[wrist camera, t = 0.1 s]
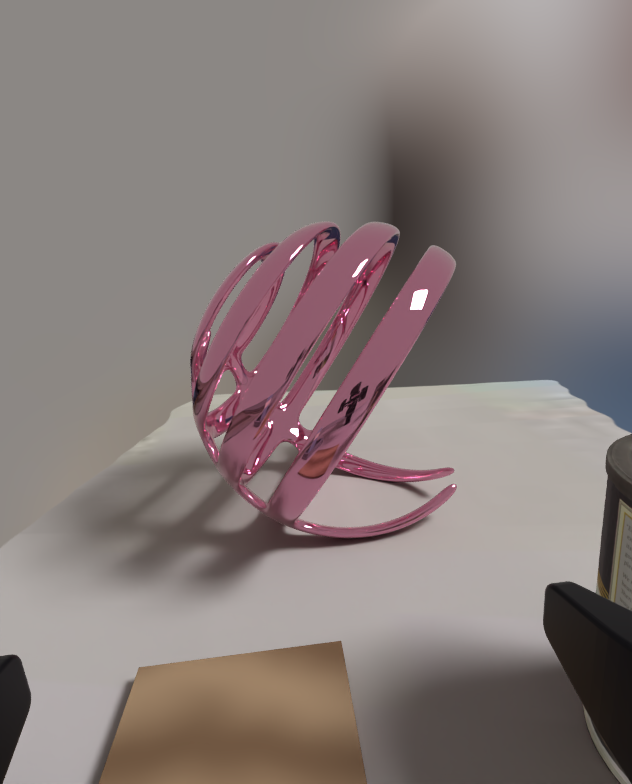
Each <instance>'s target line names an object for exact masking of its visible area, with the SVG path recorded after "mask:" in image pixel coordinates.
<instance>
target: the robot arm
mask: <svg viewBox="0 0 632 784" xmlns="http://www.w3.org/2000/svg"><path fill="white" fill-rule="evenodd" d="M543 625H544V630H545V633H546V636H547V638H548V640H549V642H550V644H551V646H552V648H553V649H554V651H555V653H556V655H557V657H558V659H559V661H560V663H561V664H562V666H563V668H564V670H565V672H566V674H567V676H568V678H569V679H570V681H571V683H572V685H573V687H574V689H575V691H576V693H577V694H578V696H579V698H580V700H581V702H582V704H583V706H584V707H585V709H586V711H587V713H588V715H589V717H590V718H591V720H592V722H593V724H594V726H595V727H596V729H597V731H598V732H599V734H600V736H601V737H602V739H603V740H604V742H605V744H606V745H607V747H608V748H609V750H610V752H611V753H612V755H613V756H614V758H615V759H616V761H617V762H618V764H619V765H620V767H621V769H622V770H623V772H624V773H625V775H626V776H627V778H628V779H629V781H630V782H631V784H632V611H631V610H629V609H627V608H625V607H623V606H621V605H619V604H617V603H614V602H612V601H610V600H608V599H606V598H604V597H602V596H600V595H598V594H596V593H594V592H592V591H590V590H588V589H586V588H584V587H582V586H580V585H578V584H576V583H573V582H567V581H566V582H559V583H551V584H549V585H548V586H547V587H546V590H545V601H544V616H543ZM30 704H31V692H30V689H29V685H28V682H27V678H26V675H25V672H24V668H23V665H22V662H21V659H20V658H19V657H18V656H17V655H5V656H0V784H3V781H4V778H5V775H6V773H7V770H8V767H9V764H10V762H11V759H12V756H13V754H14V751H15V748H16V745H17V743H18V740H19V737H20V734H21V732H22V729H23V726H24V723H25V721H26V718H27V715H28V712H29V709H30Z"/></svg>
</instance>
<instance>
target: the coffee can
mask: <svg viewBox="0 0 632 784" xmlns="http://www.w3.org/2000/svg"><path fill="white" fill-rule="evenodd" d="M606 472H607V474H608V480H607V490H606V499H605V509H604V517H603V527H602V536H601V548H600V557H599V568H598V578H597V587H596V594H598V595H600V596H602V597H604V598H606V599H608V600H610V601H612V602H614V603H617V604H619V605H621V606H623V607H625V608H627V609H629V610H631V611H632V434H631V435H628V436H625V437H623V438H620V439H618V440H616V441H615V442H614V443H613V444H612V445H611V446H610V447H609V449H608V451H607V455H606ZM583 708H584V714H585V719H586V723H587V726H588V730H589V732H590V735H591V738H592V740H593V742H594V744H595V746H596V748H597V750H598V752H599V754H600V755H601V757H602V758H603V760H604V761H605V763H606V764H607V766H608V767H609V769H610V770H611V772H612V773H613V774H614V776H615V777H616V778H617V780H618V781H619V782H620V783H621V784H631V782H630V781H629V779H628V778H627V776H626V775H625V773H624V772H623V770H622V769H621V767H620V765H619V764H618V762H617V761H616V759H615V758H614V756H613V755H612V753H611V752H610V750H609V748H608V747H607V745H606V744H605V742H604V740H603V739H602V737H601V736H600V734H599V732H598V731H597V729H596V727H595V726H594V724H593V722H592V720H591V718H590V717H589V715H588V713H587V711H586V709H585V707H584V706H583Z"/></svg>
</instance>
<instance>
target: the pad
mask: <svg viewBox="0 0 632 784" xmlns="http://www.w3.org/2000/svg"><path fill="white" fill-rule="evenodd" d="M99 784H367V781H366V775H365V770H364V764H363V759H362V753H361V748H360V742H359V737H358V731H357V726H356V720H355V715H354V709H353V704H352V698H351V693H350V687H349V682H348V676H347V670H346V665H345V659H344V654H343V648H342V643H341V641H337V642H329V643H321V644H314V645H306V646H299V647H291V648H283V649H276V650H268V651H261V652H253V653H246V654H238V655H230V656H223V657H215V658H208V659H200V660H193V661H185V662H177V663H170V664H162V665H155V666H147V667H140V668H139V669H138V672H137V675H136V677H135V680H134V683H133V686H132V689H131V692H130V695H129V697H128V700H127V703H126V706H125V709H124V712H123V715H122V718H121V720H120V723H119V726H118V729H117V732H116V735H115V738H114V741H113V743H112V746H111V749H110V752H109V755H108V758H107V761H106V764H105V766H104V769H103V772H102V775H101V778H100V781H99Z"/></svg>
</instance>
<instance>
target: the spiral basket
mask: <svg viewBox="0 0 632 784" xmlns="http://www.w3.org/2000/svg"><path fill="white" fill-rule="evenodd" d="M313 239H314V250H313V256H312V260H311V264H310V267H309V270H308V273H307V276H306V279H305V281H304V284H303V286H302V289H301V291H300V293H299V295H298V298H297V300H296V302H295V304H294V306H293V308H292V310H291V312H290V314H289V316H288V318H287V319H286V321H285V323H284V325H283V326H282V328H281V330H280V331H279V333H278V335H277V336H276V338H275V340H274V341H273V343H272V345H271V346H270V348H269V349H268V351H267V352H266V354H265V355H264V356H263V358H262V359H261V361H260V362H259V364H258V365H257V366H256V368H255V369H254V370H253V371H251V372H249V371H247V370H246V369H245V368H244V366H243V364H242V360H241V356H242V353H243V351H244V350H245V349H246V347H247V346H248V344H249V343H250V342H251V341H252V339H253V337H254V336H255V334H256V333H257V331H258V330H259V328H260V327H261V325H262V323H263V321H264V320H265V318H266V316H267V314H268V313H269V311H270V309H271V307H272V305H273V303H274V300H275V298H276V296H277V294H278V291H279V289H280V286H281V283H282V280H283V277H284V273H285V270H286V269H287V267H288V266H289V265H290V264H291V263H292V261H293V260H294V259H295V258H296V257H297V256H298V254H300V252H301V251H302V250H303V249H304V248H305V247H306V246H307V245H308V244H309V243H310V242H311V241H312V240H313ZM398 239H399V230H398V229H397V228H396V227H394V226H392V225H390V224H387V223H382V222H369V223H367V224H364V225H363V226H361V227H360V228H359V229H357V230H356V231H355V232H354V233H353V234H352V235H351V236H350V237H349V238H348V239H347V240H346V241H345V242H344V243H343V244H342V245H341V247H340V248H339V245H340V229H339V227H338V225H337V224H335V223H333V222H328V221H323V222H316V223H312V224H309V225H306V226H303V227H301V228H299V229H298V230H296V231H295V232H293V233H292V234H291V235H289V236H288V237H287V238H285V239H284V240H283V241H282V242H281V243H278V242H271V243H267V244H265V245H262V246H260V247H259V248H257V249H255V250H254V251H252V252H251V253H250V254H248V255H247V256H246V257H245V258H244V259H243V260H241V261H240V262H239V263H238V264H237V266H235V267H234V269H233V270H232V271H231V272H230V273H229V274H228V276H227V277H226V278H225V279H224V281H223V282H222V284H221V285H220V287H219V288H218V289H217V291H216V292H215V294H214V296H213V297H212V299H211V301H210V302H209V304H208V306H207V308H206V310H205V312H204V314H203V316H202V318H201V321H200V323H199V325H198V328H197V331H196V334H195V337H194V341H193V345H192V350H191V359H190V366H191V386H192V402H193V416H194V420H195V424H196V427H197V430H198V432H199V435H200V437H201V439H202V442H203V444H204V446H205V448H206V450H207V452H208V454H209V456H210V458H211V459H212V461H213V463H214V465H215V466H216V468H217V469H218V471H219V472H220V474H221V475H222V477H223V478H224V479H225V480H226V482H227V483H228V484H229V485H230V486H231V487H232V488H233V489H234V490H235V491H236V492H237V493H238V494H239V495H240V496H241V497H242V498H243V499H244V500H246V501H247V502H248V503H249V504H251V505H252V506H253V507H254V508H256V509H257V510H259V511H260V512H261V513H263V514H264V515H266V516H268V517H269V518H271V519H273V520H275V521H277V522H279V523H281V524H283V525H285V526H288V527H290V528H293V529H296V530H299V531H302V532H305V533H309V534H313V535H318V536H324V537H331V538H365V537H372V536H378V535H382V534H386V533H390V532H393V531H396V530H399V529H402V528H404V527H407V526H409V525H411V524H413V523H415V522H417V521H419V520H421V519H423V518H424V517H426V516H428V515H429V514H431V513H432V512H434V511H435V510H436V509H438V508H439V507H440V506H441V505H443V504H444V503H445V502H446V501H447V500H448V499H449V498H450V497H451V496H452V495H453V494H454V492H455V491H456V488H457V486H456V484H451V485H449V486H448V487H446V488H445V489H444V490H442V491H441V492H440V493H439V494H438V495H436V496H435V497H434V498H433V499H431V500H430V501H429V502H427V503H426V504H424V505H423V506H421V507H419V508H418V509H416V510H414V511H412V512H410V513H408V514H406V515H404V516H402V517H399V518H397V519H394V520H391V521H387V522H384V523H380V524H375V525H370V526H362V527H334V526H326V525H320V524H315V523H311V522H308V521H304V520H302V519H299V516H300V515H301V514H302V513H303V512H304V510H305V509H306V508H307V506H308V505H309V504H310V502H311V501H312V500H313V498H314V497H315V496H316V494H317V493H318V491H319V490H320V489H321V487H322V486H323V484H324V483H325V481H326V480H327V479H328V477H329V476H330V474H331V473H332V471H333V470H334V468H337V469H340V470H343V471H345V472H348V473H351V474H355V475H358V476H362V477H366V478H370V479H376V480H382V481H391V482H419V481H427V480H433V479H438V478H442V477H445V476H448V475H450V474H452V473H453V472H454V469H453V468H440V469H432V470H409V469H401V468H394V467H389V466H385V465H381V464H377V463H374V462H371V461H367V460H365V459H362V458H359V457H356V456H354V455H351V454H349V453H347V452H346V451H347V449H348V448H349V446H350V445H351V443H352V442H353V440H354V439H355V437H356V436H357V434H358V433H359V431H360V429H361V428H362V426H363V425H364V423H365V422H366V420H367V419H368V417H369V416H370V414H371V412H372V411H373V409H374V408H375V406H376V405H377V403H378V401H379V400H380V398H381V397H382V395H383V394H384V392H385V390H386V389H387V387H388V386H389V384H390V382H391V381H392V379H393V378H394V376H395V374H396V373H397V371H398V370H399V368H400V366H401V365H402V363H403V361H404V360H405V358H406V356H407V355H408V353H409V351H410V350H411V348H412V347H413V345H414V343H415V342H416V340H417V338H418V337H419V335H420V333H421V331H422V330H423V328H424V326H425V325H426V323H427V321H428V319H429V318H430V316H431V314H432V312H433V311H434V309H435V307H436V305H437V303H438V302H439V300H440V298H441V296H442V295H443V293H444V291H445V289H446V287H447V285H448V283H449V281H450V279H451V277H452V275H453V272H454V270H455V267H456V262H455V260H454V258H453V257H452V256H451V255H450V254H449V253H448V252H446V251H445V250H443V249H441V248H440V247H438V246H434V245H432V246H430V247H429V248H428V250H427V251H426V253H425V254H424V256H423V257H422V259H421V260H420V262H419V263H418V265H417V266H416V268H415V269H414V271H413V273H412V274H411V276H410V277H409V279H408V280H407V282H406V283H405V285H404V287H403V288H402V289H401V291H400V293H399V294H398V296H397V297H396V299H395V301H394V302H393V303H392V305H391V307H390V308H389V310H388V311H387V313H386V315H385V316H384V318H383V319H382V321H381V322H380V324H379V326H378V327H377V329H376V330H375V332H374V333H373V335H372V336H371V338H370V340H369V341H368V343H367V344H366V346H365V348H364V349H363V351H362V352H361V354H360V355H359V357H358V359H357V360H356V362H355V363H354V365H353V367H352V368H351V370H350V372H349V373H348V375H347V376H346V378H345V379H344V381H343V383H342V384H341V386H340V387H339V389H338V390H337V392H336V394H335V395H334V397H333V398H332V400H331V402H330V403H329V405H328V406H327V408H326V410H325V411H324V413H323V414H322V416H321V418H320V419H319V421H318V423H317V424H316V426H315V427H314V429H313V430H307V429H305V428H304V427H303V426H302V425H301V424H300V422H299V416H300V413H301V411H302V410H303V408H304V406H305V405H306V403H307V402H308V400H309V399H310V397H311V396H312V394H313V393H314V391H315V390H316V388H317V386H318V385H319V383H320V381H321V380H322V379H323V377H324V376H325V374H326V372H327V371H328V369H329V368H330V366H331V364H332V363H333V361H334V359H335V358H336V356H337V355H338V353H339V351H340V349H341V348H342V346H343V345H344V343H345V341H346V339H347V338H348V336H349V334H350V333H351V331H352V330H353V328H354V326H355V324H356V323H357V321H358V319H359V317H360V316H361V314H362V312H363V310H364V309H365V307H366V305H367V303H368V301H369V300H370V298H371V296H372V294H373V292H374V291H375V289H376V287H377V285H378V283H379V281H380V279H381V277H382V275H383V274H384V271H385V269H386V267H387V266H388V263H389V261H390V259H391V257H392V255H393V253H394V250H395V248H396V245H397V243H398ZM258 261H261V262H262V264H261V265H260V266H259V268H258V269H257V270H256V271H255V273H254V274H253V275H252V277H251V278H250V280H249V281H248V282H247V284H246V285H245V287H244V288H243V289H242V291H241V292H240V294H239V295H238V297H237V299H236V300H235V302H234V303H233V305H232V307H231V308H230V310H229V312H228V313H227V315H226V317H225V318H224V320H223V322H222V324H221V326H220V327H219V330H218V332H217V333H216V335H215V337H214V339H213V341H212V343H211V345H210V348H209V350H208V345H209V341H210V336H211V331H210V329H211V326H212V324H213V322H214V320H215V318H216V316H217V314H218V313H219V311H220V309H221V307H222V305H223V304H224V302H225V301H226V299H227V297H228V296H229V294H230V293H231V291H232V290H233V289H234V287H235V285H237V283H238V282H239V281H240V279H241V278H242V277H243V276H244V274H245V273H246V272H247V271H248V270H249V269H250V268H251V267H252V266H253V265H254V264H255V263H257V262H258ZM345 297H346V298H345ZM344 299H345V300H344ZM343 300H344V302H343ZM342 302H343V304H342V306H341V308H340V310H339V311H338V313H337V315H336V317H335V319H334V320H333V322H332V324H331V326H330V328H329V330H328V331H327V333H326V335H325V336H324V338H323V340H322V341H321V343H320V345H319V346H318V348H317V350H316V351H315V353H314V355H313V356H312V358H311V360H310V361H309V363H308V364H307V366H306V367H305V369H304V371H303V372H302V374H301V375H300V377H299V379H298V380H297V382H296V383H295V384H294V386H293V387H292V389H291V390H290V392H289V393H288V395H287V396H286V398H285V399H284V400H283V401H282V402H280V401H281V399H282V397H283V396H284V394H285V392H286V390H287V389H288V387H289V385H290V384H291V382H292V380H293V379H294V377H295V375H296V374H297V372H298V370H299V369H300V367H301V366H302V364H303V362H304V361H305V359H306V357H307V356H308V354H309V353H310V351H311V349H312V348H313V346H314V344H315V343H316V341H317V340H318V338H319V336H320V335H321V334H322V332H323V330H324V329H325V327H326V326H327V324H328V323H329V321H330V320H331V318H332V317H333V315H334V313H335V312H336V311H337V309H338V307H339V306H340V305H341V303H342ZM207 350H208V352H207ZM227 370H230V371H231V372H232V374H233V376H234V378H235V381H236V390H235V392H234V393H233V395H232V396H231V397H230V398H229V399H227V400H226V401H225V402H224V403H223V404H222V405H220V406H219V407H218V408H216V409H214V410H213V411H211V412H208V411H209V407H210V404H211V401H212V398H213V395H214V392H215V390H216V387H217V385H218V382H219V380H220V378H221V376H222V374H223V373H224V372H225V371H227ZM226 431H227V432H226ZM224 432H226V434H225V437H224V439H223V442H222V445H221V449H220V451H219V449H218V447H217V445H216V443H215V440H214V438H216V437H218V436H220V435H222V434H223V433H224ZM282 442H289V443H291V444H293V445H294V446H295V447H296V448H297V449H298V451H299V453H298V455H297V456H296V458H295V460H294V461H293V463H292V465H291V466H290V468H289V469H288V471H287V473H286V474H285V476H284V478H283V479H282V481H281V483H280V484H279V486H278V488H277V489H276V491H275V493H274V494H273V496H272V498H271V499H270V501H269V503H267V502H266V501H264V500H262V499H261V498H260V497H258V496H257V495H256V494H255V493H253V492H252V491H251V490H250V489H249V488H248V487H247V486H246V484H247V483H248V482H249V481H250V480H251V479H252V478H253V477H254V476H255V475H256V473H257V472H258V471H259V470H260V468H261V467H262V466H263V465H264V463H265V462H266V461H267V459H268V458H269V457H270V455H271V454H272V453H273V451H274V450H275V449H276V447H277V446H278V445H279V444H280V443H282Z"/></svg>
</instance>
